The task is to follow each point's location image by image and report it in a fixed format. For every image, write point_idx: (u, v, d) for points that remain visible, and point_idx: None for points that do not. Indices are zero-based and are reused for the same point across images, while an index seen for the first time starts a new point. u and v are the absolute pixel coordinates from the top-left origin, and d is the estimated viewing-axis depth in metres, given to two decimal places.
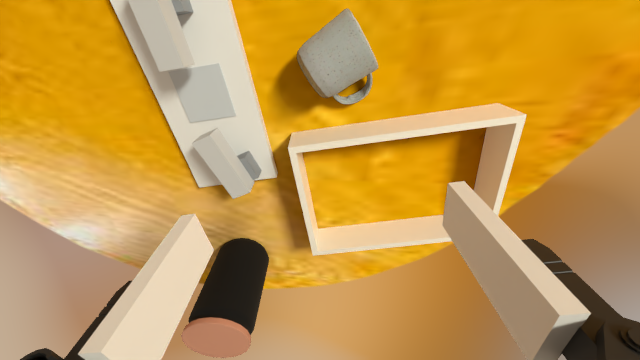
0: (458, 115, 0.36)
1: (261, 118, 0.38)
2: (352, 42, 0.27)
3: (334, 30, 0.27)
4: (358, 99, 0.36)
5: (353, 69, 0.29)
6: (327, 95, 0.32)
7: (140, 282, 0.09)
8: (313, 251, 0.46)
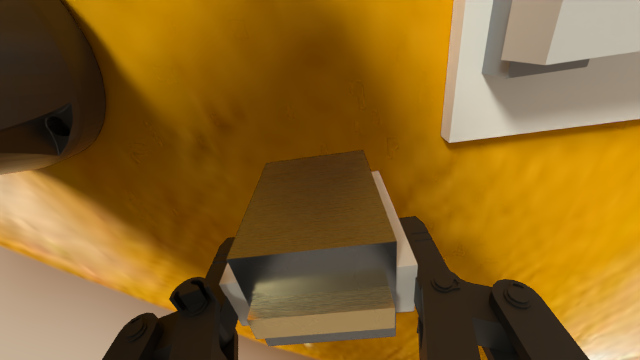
0: None
1: None
2: None
3: None
4: None
5: None
6: None
7: None
8: None
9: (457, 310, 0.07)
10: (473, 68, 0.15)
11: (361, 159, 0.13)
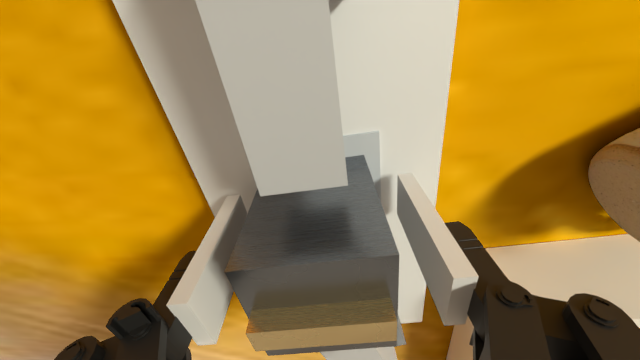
0: None
1: None
2: None
3: None
4: None
5: None
6: None
7: (205, 250, 0.10)
8: None
9: (528, 329, 0.06)
10: None
11: (362, 164, 0.13)
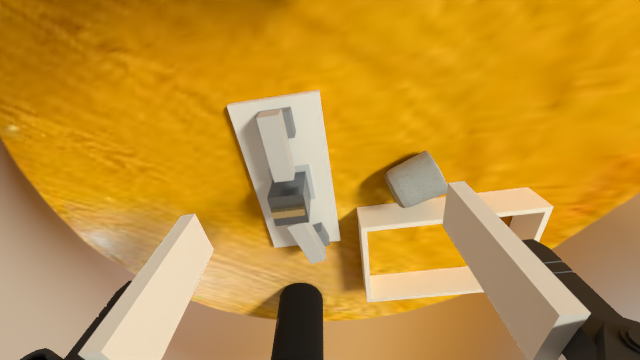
0: (496, 200, 0.44)
1: (334, 198, 0.47)
2: (435, 183, 0.37)
3: (421, 173, 0.38)
4: None
5: (432, 197, 0.39)
6: (406, 207, 0.42)
7: (140, 282, 0.09)
8: (368, 299, 0.54)
9: None
10: (259, 107, 0.37)
11: (303, 174, 0.42)
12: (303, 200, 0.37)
